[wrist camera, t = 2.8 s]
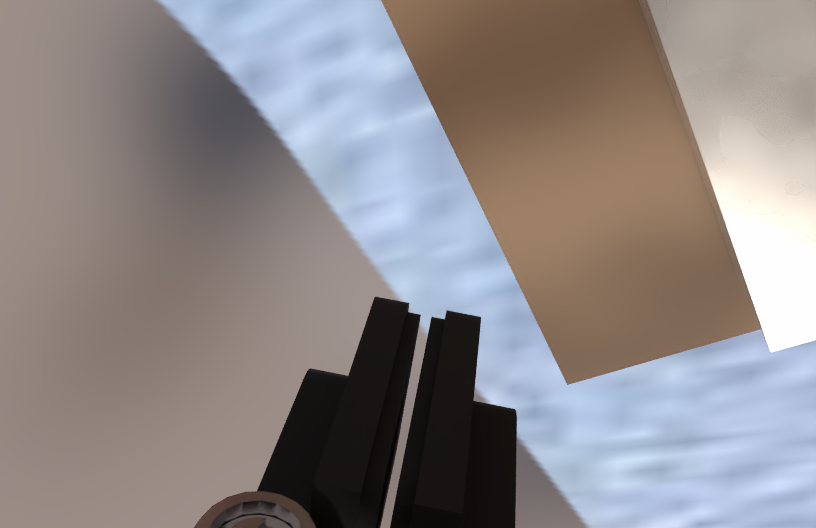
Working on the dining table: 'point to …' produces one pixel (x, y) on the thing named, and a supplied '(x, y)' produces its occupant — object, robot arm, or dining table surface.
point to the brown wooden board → (580, 173)
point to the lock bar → (752, 141)
